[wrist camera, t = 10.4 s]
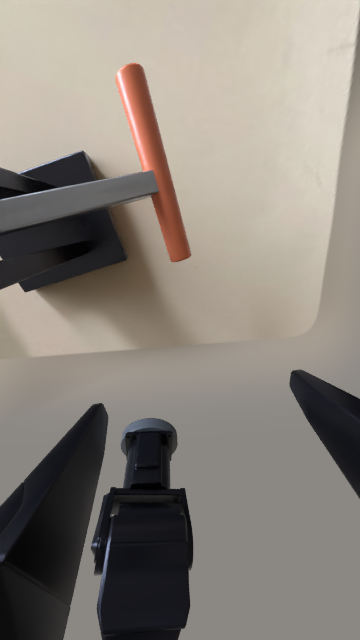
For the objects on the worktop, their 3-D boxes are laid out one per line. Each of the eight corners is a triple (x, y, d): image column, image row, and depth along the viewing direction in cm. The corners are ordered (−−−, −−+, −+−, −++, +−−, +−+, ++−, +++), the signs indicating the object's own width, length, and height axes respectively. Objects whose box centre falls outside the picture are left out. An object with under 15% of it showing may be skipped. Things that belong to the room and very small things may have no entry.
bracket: (88, 154, 15) (-164, -74, 4) (129, 257, 19) (72, 318, 7) (-29, 196, 16) (-588, 121, 4) (32, 288, 20) (-173, 393, 8)
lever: (133, 90, 11) (152, 54, 9) (179, 255, 15) (200, 254, 13) (-282, 93, 6) (-454, 4, 4) (-38, 348, 10) (-57, 371, 8)
